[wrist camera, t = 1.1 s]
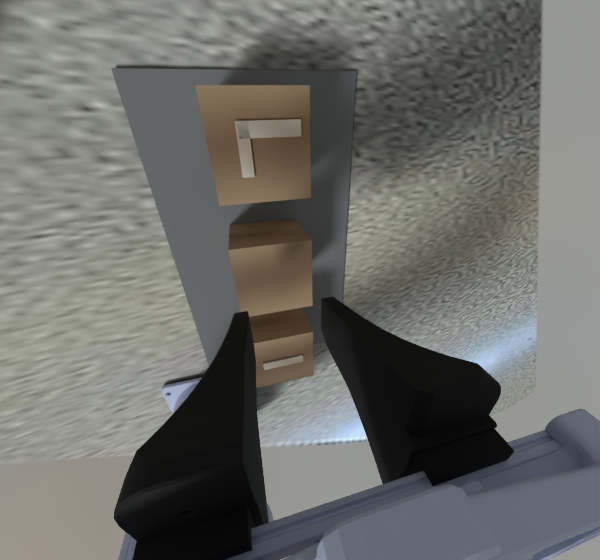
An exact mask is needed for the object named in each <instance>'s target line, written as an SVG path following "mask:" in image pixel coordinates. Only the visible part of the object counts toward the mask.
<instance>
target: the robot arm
mask: <svg viewBox="0 0 600 560" xmlns="http://www.w3.org/2000/svg"><path fill="white" fill-rule="evenodd" d="M321 330H322V333H323V336H324V339H325V342H326V344H327V347H328V349H329V351H330V353H331V355H332V357H333V359H334V361H335V363H336V364H337V366H338V368H339V370H340V372H341V374H342V376H343V378H344V380H345V382H346V384H347V386H348V388H349V391H350V393H351V396H352V398H353V401H354V403H355V406H356V408H357V411H358V414H359V416H360V419H361V422H362V424H363V427H364V430H365V433H366V435H367V438H368V441H369V444H370V447H371V450H372V452H373V455H374V458H375V461H376V464H377V467H378V470H379V473H380V477H381V479H382V483H383V485H380V486H377V487H374V488H371V489H368V490H365V491H362V492H359V493H356V494H353V495H350V496H347V497H344V498H341V499H338V500H335V501H332V502H329V503H326V504H323V505H320V506H317V507H314V508H311V509H308V510H305V511H302V512H299V513H296V514H293V515H291V516H287V517H284V518H281V519H279V520H275V521H274V520H273V516H272V512H271V510H270V508H269V506H268V504H267V503H266V494H265V485H264V476H263V467H262V458H261V449H260V439H259V430H258V420H257V406H256V357H255V349H254V341H253V336H252V330H251V325H250V319H249V314H248V311H244V312H238V313H235V314H234V315H233V318H232V321H231V324H230V327H229V329H228V332H227V334H226V336H225V338H224V340H223V343H222V345H221V347H220V349H219V350H218V352H217V354H216V356H215V358H214V360H213V361H212V363H211V365H210V366H209V368H208V369H207V371H206V372H205V374H204V375H203V377H201V378H196V379H192V380H187V381H182V382H177V383H173V384H168V385H165V386H163V387H162V390H161V391H162V394H163V396H164V398H165V399H166V401H167V403H168V405H169V407H170V409H171V411H172V413H173V414H172V416H171V417H170V418H169V419H168V420H167V421H166V422H165V423H164V425H163V426H162V427H161V428H160V429H159V430H158V431H157V432H156V433H155V434H154V435H153V436H152V437H151V438H150V439H149V440H148V441H147V442H146V443H145V444H144V445H142V446H141V447H140V448H139V449H138V450H137V451H136V454H135V456H134V458H133V461H132V463H131V465H130V467H129V470H128V472H127V474H126V477H125V480H124V483H123V486H122V489H121V492H120V495H119V498H118V501H117V505H116V508H115V511H114V519H115V521H116V522H117V524H118V525H119V527H121V528H122V529H123V530H124V531H125V532H126V533H125V537H124V540H123V544H122V548H121V551H120V555H119V559H118V560H280V559H283V558H285V557H287V558H285V559H283V560H549V559H551V558H553V557H555V556H557V555H559V554H562V553H564V552H566V551H568V550H570V549H571V548H574V547H576V546H578V545H580V544H582V543H584V542H586V541H588V540H590V539H593V538H595V537H597V536H599V535H600V421H599V420H598V419H596V418H595V417H594V416H592V415H591V414H590V413H588V412H587V411H586V410H584V409H577V410H574V411H571V412H568V413H565V414H562V415H560V416H557V417H556V418H554V419H553V420H551V421H550V422H549V423H548V425H547V426H546V428H545V430H543V431H540V432H537V433H534V434H532V435H528V436H525V437H523V438H519V439H516V440H513V441H511V442H506V441H505V440H504V439H503V438H502V437H501V436H500V434H499V433H498V432H497V431H496V430H495V429H494V428H496V427H497V424H496V422H495V421H494V420H493V419H492V418H491V417H490V416H489V414H490V412H491V410H492V409H493V407H494V405H495V404H496V402H497V401H498V399H499V396H500V393H501V386H500V384H499V383H498V382H497V381H496V380H495V379H494V378H493V377H492V376H491V375H489V374H488V373H487V372H486V371H485V370H484V369H483V368H482V367H481V366H479V365H478V364H477V363H473V362H469V361H465V360H462V359H458V358H454V357H450V356H447V355H444V354H441V353H438V352H435V351H432V350H429V349H426V348H423V347H421V346H418V345H416V344H413V343H411V342H408V341H406V340H404V339H401V338H399V337H397V336H395V335H393V334H391V333H389V332H387V331H385V330H383V329H381V328H380V327H378V326H376V325H374V324H373V323H371V322H369V321H368V320H366V319H365V318H363V317H361V316H360V315H358V314H357V313H355V312H354V311H353V310H351V309H350V308H348V307H347V306H346V305H344V304H343V303H341V302H340V301H339V300H337V299H336V298H334V297H333V296H332V297H326V298H321ZM291 555H292V556H291ZM288 556H289V557H288Z"/></svg>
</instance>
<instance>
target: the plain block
mask: <svg viewBox="0 0 600 560" xmlns="http://www.w3.org/2000/svg"><path fill="white" fill-rule="evenodd" d="M228 251H229V256H230V261H231V266H232V271H233V276H234V281H235V286H236V291H237V296H238V301H239V306H240V311H241V312H244V311H248V314H249V317H251V316H257V315H262V314H268V313H274V312H280V311H285V310H291V309H297V308H302V307H308V306H313V300H312V240H311V238H310V237H309V236H308V235H307V233H306V232H305V231H304V230H303V229H302V227H301V226H300V225H299V224H298V222H297V221H296V220H295V219H294V218H293V219H283V220H274V221H264V222H254V223H245V224H235V225H229V247H228Z"/></svg>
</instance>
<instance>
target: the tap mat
mask: <svg viewBox="0 0 600 560" xmlns="http://www.w3.org/2000/svg"><path fill="white" fill-rule="evenodd" d="M111 69H112V72H113V75H114V78H115V81H116V84H117V87H118V90H119V93H120V96H121V99H122V102H123V105H124V108H125V111H126V114H127V117H128V120H129V123H130V126H131V130H132V133H133V136H134V139H135V142H136V145H137V148H138V151H139V154H140V157H141V160H142V163H143V166H144V169H145V172H146V175H147V178H148V181H149V184H150V187H151V190H152V193H153V196H154V199H155V202H156V206H157V209H158V212H159V215H160V218H161V221H162V224H163V227H164V230H165V233H166V236H167V239H168V242H169V245H170V248H171V251H172V254H173V257H174V260H175V263H176V266H177V269H178V272H179V275H180V278H181V281H182V285H183V288H184V291H185V294H186V297H187V300H188V303H189V306H190V309H191V312H192V315H193V318H194V321H195V324H196V327H197V330H198V333H199V336H200V339H201V342H202V345H203V348H204V351H205V354H206V357H207V361H208V364H209V366H210V365H211V363H212V361H213V360H214V358H215V356H216V354H217V352H218V350H219V349H220V347H221V345H222V343H223V340H224V338H225V336H226V334H227V332H228V329H229V327H230V324H231V321H232V318H233V315H234V314H235V313H238V312H241V311H240V306H239V301H238V296H237V291H236V286H235V281H234V276H233V271H232V266H231V261H230V256H229V251H228V247H229V225H235V224H245V223H254V222H264V221H274V220H283V219H293V218H294V219H295V220H296V221H297V222H298V224H299V225H300V226H301V227H302V229H303V230H304V231H305V232H306V233H307V235H308V236H309V237H310V238H311V240H312V300H313V306H308V307H303V310H304V312H305V314H306V317H307V319H308V322H309V324H310V326H311V329H312V331H313V344H316V343H321V342H325V339H324V336H323V333H322V330H321V298H326V297H332V296H333V297H334V298H336V299H337V300H339V301H340V302H341V303H342V294H343V278H344V262H345V246H346V229H347V213H348V197H349V181H350V165H351V149H352V132H353V116H354V100H355V84H356V71H301V70H216V69H131V68H111ZM195 85H310V149H311V198H304V199H293V200H282V201H271V202H259V203H248V204H237V205H226V206H219V201H218V196H217V191H216V186H215V181H214V176H213V171H212V166H211V161H210V156H209V151H208V146H207V141H206V136H205V131H204V126H203V121H202V116H201V111H200V106H199V101H198V96H197V91H196V86H195Z"/></svg>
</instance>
